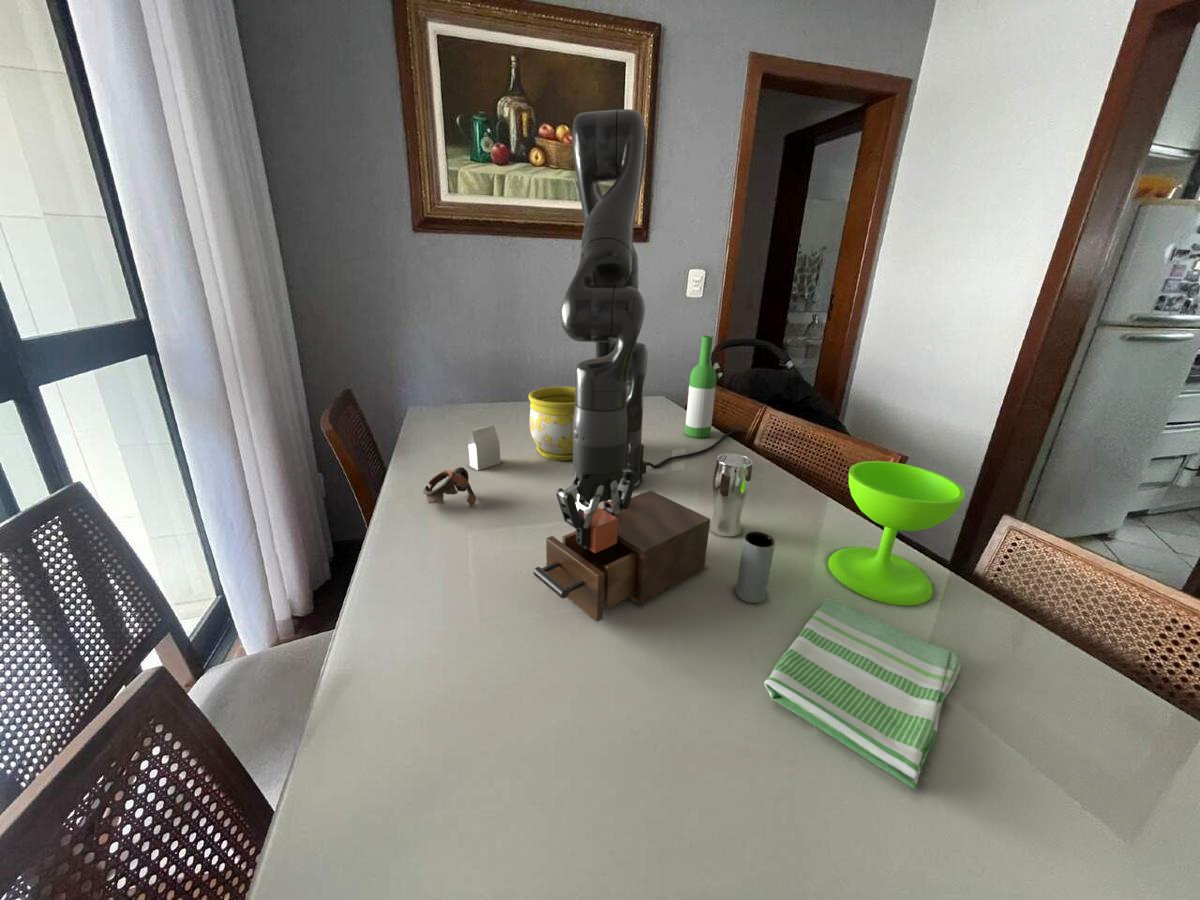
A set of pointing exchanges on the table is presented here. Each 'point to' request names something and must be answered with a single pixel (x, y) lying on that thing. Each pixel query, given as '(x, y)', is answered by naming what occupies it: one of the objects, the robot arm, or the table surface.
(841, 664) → the dish towel
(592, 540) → the block
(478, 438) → the white milk carton
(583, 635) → the table surface
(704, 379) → the wine bottle
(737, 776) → the table surface
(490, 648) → the table surface
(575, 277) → the robot arm
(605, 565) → the drawer
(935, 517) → the wineglass
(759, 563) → the grey cylinder
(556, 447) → the flowerpot
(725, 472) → the beer glass
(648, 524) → the cabinet
